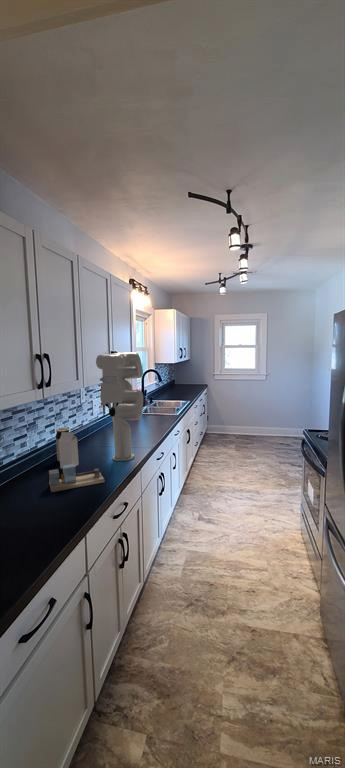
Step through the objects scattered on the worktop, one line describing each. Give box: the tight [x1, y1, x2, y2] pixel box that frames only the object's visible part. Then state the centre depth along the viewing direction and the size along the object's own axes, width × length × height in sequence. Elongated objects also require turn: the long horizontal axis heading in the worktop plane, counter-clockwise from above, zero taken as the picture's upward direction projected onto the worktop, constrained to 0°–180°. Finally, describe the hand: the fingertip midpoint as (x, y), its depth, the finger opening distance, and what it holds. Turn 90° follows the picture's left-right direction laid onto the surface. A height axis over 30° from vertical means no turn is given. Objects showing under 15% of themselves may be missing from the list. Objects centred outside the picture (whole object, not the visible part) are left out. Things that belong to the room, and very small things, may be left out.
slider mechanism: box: [48, 467, 106, 493], centre depth 164 cm, size 10×24×8 cm, turn 114°
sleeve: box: [62, 463, 77, 484], centre depth 162 cm, size 6×5×7 cm
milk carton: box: [59, 431, 80, 470], centre depth 187 cm, size 7×7×19 cm
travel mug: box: [55, 427, 70, 462], centre depth 199 cm, size 8×8×18 cm
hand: (112, 416), depth 175 cm, fingers closed
